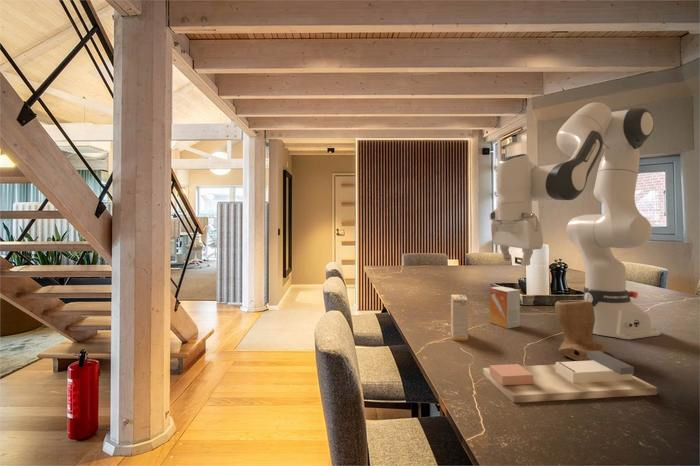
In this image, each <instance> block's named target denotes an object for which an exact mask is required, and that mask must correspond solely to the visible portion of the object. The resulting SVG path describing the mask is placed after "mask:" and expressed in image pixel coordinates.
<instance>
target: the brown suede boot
mask: <svg viewBox="0 0 700 466" xmlns="http://www.w3.org/2000/svg"><path fill="white" fill-rule="evenodd" d="M554 308H555V317H556V319H557V322H558V324H559V326H560V330H561V331H562V335H563V342H561V345H560V346H559V348H558V352H559V353H560V354H562V355H564V356H565V357H567V358H569V359H571V360H573V361H591V360H592V359H590V358H588V357H587V351H600V352H603V353H605V352H604V351H605V346H604V345H603V344H601V343H598V342H594V340H593V337H594V336H593V334H594V333H593V328H594V323H595V315H594V308H593V305H592V303H591V302H589V301H587V300H584V299H579V300H574V299H573V300H572V299H567V300H557V301H556V302H555V303H554Z"/></svg>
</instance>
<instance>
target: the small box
mask: <svg viewBox="0 0 700 466" xmlns="http://www.w3.org/2000/svg"><path fill="white" fill-rule="evenodd" d="M489 291H490V292H489V323H490V324H494V325H496V326H499V327H502V328H504V329H512V328H518V327H520V324H521V323H520V322H521V317H520V316H521V314H520V313H521V309H520V307H521V290H520V289H518V288H517V289H515V288H513V287H508V286H507V287H506V286H502V285H501V286H494V287H493V286H492V287H489Z"/></svg>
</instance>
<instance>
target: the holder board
mask: <svg viewBox="0 0 700 466" xmlns="http://www.w3.org/2000/svg"><path fill="white" fill-rule="evenodd" d="M521 366H522V367H523V368H524V369H526V370H527V371H529V372H530V373H531V374H533V384H520V385H501V384H500V383H499V382H498V381H497V380H496V379H495V378H494V377H493V376H491V375H490V367H482V368H483V369H482V374H483V376H484V377H486V379H488V380H489V381H490V383H492V384H493V385H494V386H495V387H496V388H497V389H498V390H500V392H501V393H503V394H504V396H506V397H507V399H509V400H510V401H511V402H512V403H531V402H549V401H565V400H566V401H569V400H584V399H600V398H601V399H602V398H620V397H635V396H636V397H637V396H638V397H639V396H655V395H657V394H658V387H657V386H654V385H652V384H651V383H648V382H646V381H644V380H642V379H641V378H639V377H636V376H634V374H632V380H621V381H602V382H583V383H572V382H571V381H569V380H568V379H566V378H565V377H563V376H561V375H560V374H558V373H557V372H556V364H542V365H541V364H539V365H521Z"/></svg>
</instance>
